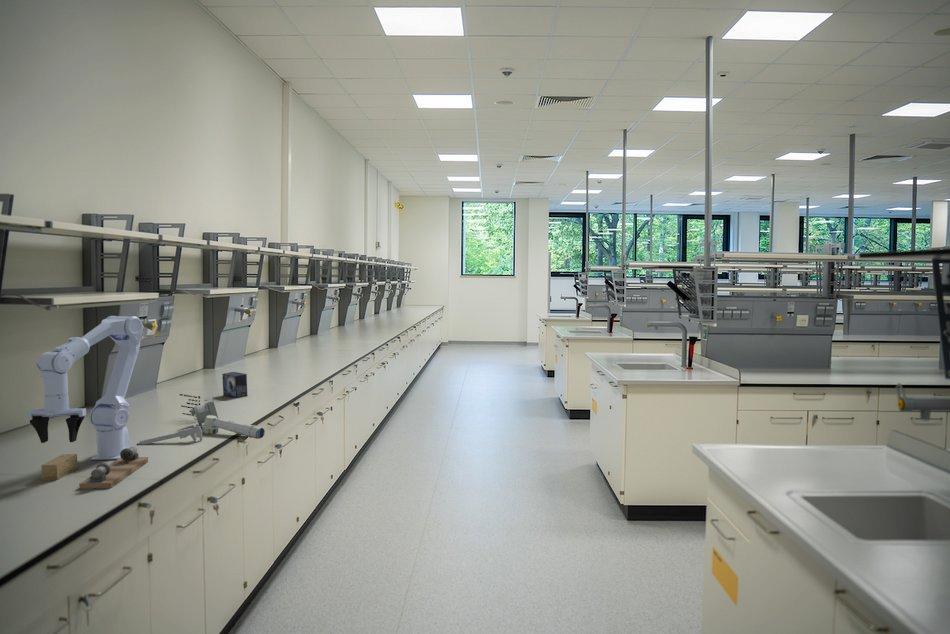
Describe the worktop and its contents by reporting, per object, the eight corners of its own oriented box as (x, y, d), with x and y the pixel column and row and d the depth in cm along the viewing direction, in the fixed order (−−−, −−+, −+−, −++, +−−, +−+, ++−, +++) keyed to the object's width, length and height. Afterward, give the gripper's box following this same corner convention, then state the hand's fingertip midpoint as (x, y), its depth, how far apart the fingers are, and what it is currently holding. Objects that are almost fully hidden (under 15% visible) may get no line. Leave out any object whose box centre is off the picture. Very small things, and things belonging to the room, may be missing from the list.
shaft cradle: (120, 462, 181) (119, 444, 181) (148, 461, 182) (147, 443, 182) (79, 489, 160) (78, 468, 159) (111, 488, 160) (110, 467, 160)
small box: (222, 395, 279) (221, 373, 278) (234, 393, 284) (234, 371, 283) (235, 398, 273) (234, 375, 272) (248, 396, 278) (247, 373, 277)
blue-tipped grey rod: (256, 429, 205) (199, 413, 214) (254, 448, 206) (197, 431, 214) (266, 425, 210) (210, 410, 218) (264, 444, 211) (208, 428, 219)
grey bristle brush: (232, 424, 227) (231, 398, 227) (205, 431, 217) (204, 404, 217) (187, 415, 240) (186, 391, 240) (160, 422, 230) (159, 396, 230)
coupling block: (63, 469, 176) (62, 454, 176) (77, 468, 177) (77, 453, 176) (42, 481, 166) (41, 465, 166) (57, 480, 167) (56, 464, 166)
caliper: (202, 441, 206) (202, 422, 205) (201, 441, 205) (201, 423, 204) (137, 444, 201) (136, 426, 201) (136, 445, 200) (135, 427, 200)
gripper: (19, 397, 165) (22, 446, 166) (75, 396, 166) (78, 445, 167) (35, 392, 172) (38, 439, 173) (89, 391, 173) (91, 438, 174)
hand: (58, 441), depth 171 cm, fingers open, 7 cm apart
